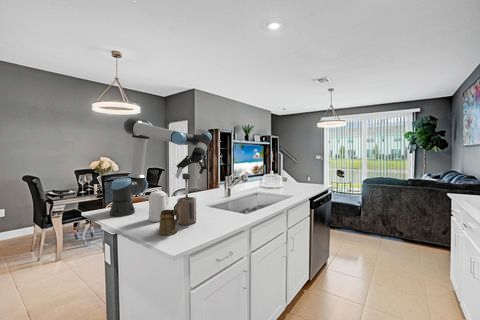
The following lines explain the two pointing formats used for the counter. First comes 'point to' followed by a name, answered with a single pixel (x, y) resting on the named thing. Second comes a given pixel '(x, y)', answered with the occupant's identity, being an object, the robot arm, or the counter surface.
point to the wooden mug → (169, 220)
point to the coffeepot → (157, 204)
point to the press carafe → (187, 211)
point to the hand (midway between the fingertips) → (186, 177)
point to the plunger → (186, 183)
